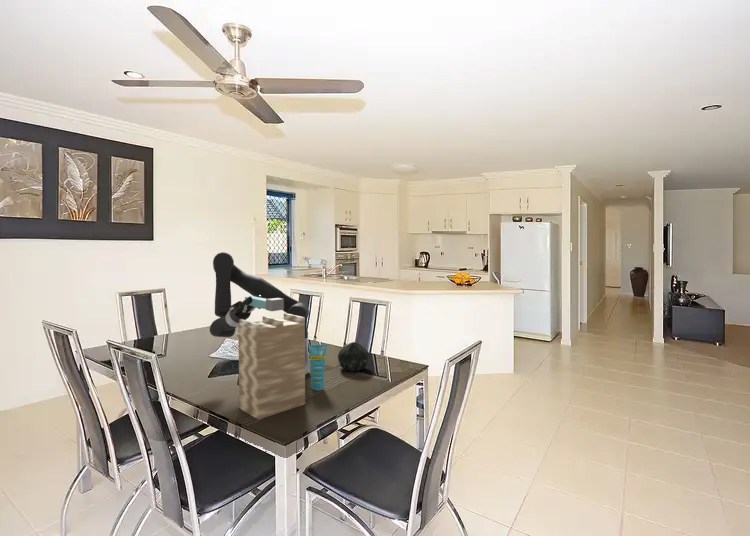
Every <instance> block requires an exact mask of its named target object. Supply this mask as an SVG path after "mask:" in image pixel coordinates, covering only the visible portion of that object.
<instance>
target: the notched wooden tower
mask: <svg viewBox="0 0 750 536" xmlns="http://www.w3.org/2000/svg"><path fill="white" fill-rule="evenodd" d="M261 317H262V320H259V321H250V320H248V319H246V320H243V319H240V324H238V327H237V329H238V331H237V333H238V335H237V336H238V337H237V338H238V388H239V389H238V392H239V396H238V397H239V401H238V403H239V409H240V410H242V411H243V412H244V413H246V414H248V415H250V416H252V417H253V418H255V419H256V420H262V419H265V418H269V417H271V416H274V415H277V414H280V413H283V412H286V411H289V410H292V409H295V408H298V407H301V406H303V405H306V374H305V317H301V316H296V315H292V314H287V313H286V312H284V313H283V317H279V318H274V317H270V316H266V315H263V316H261Z"/></svg>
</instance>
